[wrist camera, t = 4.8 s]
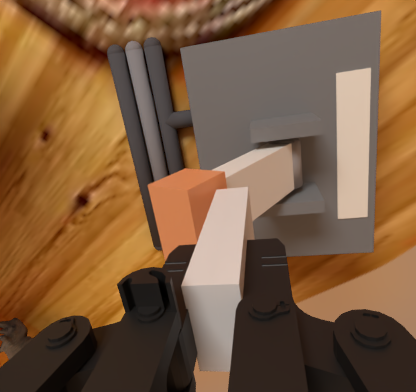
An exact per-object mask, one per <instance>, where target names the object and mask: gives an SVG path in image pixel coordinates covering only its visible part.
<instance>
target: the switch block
mask: <svg viewBox="0 0 416 392" xmlns="http://www.w3.org/2000/svg"><path fill="white" fill-rule="evenodd" d="M380 32H381V11H375V12H370V13H365V14H359V15H354V16H349V17H344V18H338V19H333V20H328V21H322V22H317V23H312V24H306V25H301V26H296V27H290V28H285V29H280V30H274V31H269V32H264V33H258V34H253V35H248V36H242V37H237V38H232V39H226V40H221V41H216V42H211V43H205V44H200V45H195V46H189V47H184V48H180V50H181V56H182V62H183V68H184V74H185V80H186V86H187V92H188V98H189V104H190V110H191V116H192V122H193V128H194V134H195V140H196V146H197V152H198V158H199V164H200V170H213V169H215V168H217V167H219V166H221V165H223V164H225V163H227V162H229V161H231V160H234V159H236V158H238V157H240V156H242V155H244V154H246V153H248V152H250V151H252V150H254V149H256V148H259V147H261V146H263V145H265V144H267V143H268V142H269V141H274V140H282V139H290V138H300V142H301V161H302V180H303V185H302V186H301V187H299V188H297V189H294V190H293V191H291V192H290V193H289V194H287V195H286V196H285V197H283V198H282V199H281V200H280V201H278V202H277V203H276V204H274V205H273V206H272V207H270V208H269V209H268V210H267V211H265V212H264V213H263V214H261V215H260V216H259V217H257V218H256V219H255V220H254V221H252V222H253V230H254V239H271V238H278V239H279V240H280V241H281V242H282V243H283V244H284V245H285V250H286V257H291V256H310V255H329V254H348V253H367V252H373V249H374V218H375V187H376V156H377V125H378V94H379V63H380Z"/></svg>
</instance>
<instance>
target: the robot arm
mask: <svg viewBox="0 0 416 392" xmlns="http://www.w3.org/2000/svg"><path fill="white" fill-rule="evenodd" d="M117 286H118V289H119V293H120V296H121V299H122V302H123V306H124V309H125V312H126V313H125V314H124V316H123V318H122V320H121V321H120V322H117V323H114V324H110V325H106V326H102V327H98V328H94V329H92V327H91V324H90V322H89V319H87V318H85V317H83V316H70V317H66V318H62V319H60V320H58V321H56V322H54V323H52V324H50V325H49V326H48V327H46V328H45V329H44V330H42V331H41V332H40V333H39V334H38V335H37V336H35V337H34V338H33V339H32V340H31V341H30V342H29V343H28V344H26V345H25V346H24V347H23V348H22V349H21V350H20V351H19V352H17V353H16V354H15V355H14V356H13V357H12V358H11V359H10V360H8V361H7V362H6V363H5V364H4V365H3V366H2V367H1V368H0V392H196V382H195V378H194V373H193V371H194V367H195V362H196V358H197V360H198V365H199V369H200V371H227V372H228V371H229V372H230V376H229V387H228V392H416V339H415V338H414V337H413V336H412V335H411V334H410V333H409V332H408V331H407V330H406V329H405V328H404V327H403V326H402V325H401V324H400V323H398V322H397V321H396V320H394V319H393V318H391V317H389V316H387V315H385V314H382V313H380V312H376V311H371V310H366V309H363V310H351V311H348V312H345V313H343V314H341V315H340V316H339V317H338V318H337V319H336V320H335V323H334V322H330V321H325V320H321V319H318V318H315V317H312V316H310V315H308V314H306V313H304V312H303V311H302V310H301V309H299V308H298V307H297V305H296V304H295V303H294V300H293V297H292V291H291V285H290V278H289V271H288V264H287V257H286V250H285V245H284V244H283V243H282V242H281V241H280V240H279V239H278V238H271V239H254V230H253V222H252V213H251V205H250V196H249V188H248V187H239V188H229V189H218V190H216V192H215V195H214V198H213V200H212V203H211V206H210V209H209V211H208V214H207V217H206V220H205V222H204V225H203V228H202V230H201V233H200V236H199V239H198V241H197V244H191V245H179V246H177V247H176V248H175V249H174V250H173V251H172V252H171V253H169V255H168V257H167V259H166V261H165V264H164V265H163V267H162V268H155V267H151V268H144V269H140V270H138V271H135V272H132V273H131V274H129V275H127V276H126V277H124V278H123V279H122V280H121V281H120V282H119V283H118V284H117Z"/></svg>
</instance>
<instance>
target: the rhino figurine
mask: <svg viewBox="0 0 416 392" xmlns="http://www.w3.org/2000/svg"><path fill="white" fill-rule="evenodd" d="M0 327H1V328H4V329H2V330H0V333H1V334H4V335H2V336H0V340H1V341H3V342H2V345H1V347H0V352H3V351H4V352H5V353H6V354H7V356H8V358H9V360H10V359H11V358H12V357H13V356H14V355H15V354H16V353H17V352H19V351H20V350H21V349H22V348H23V347H24V346H25V345H26V344H28V343H29V342H30V341H31V340H32V339H33V338H31V337H27V332H28V330H27V328H26V327H25V325H24V324H23V323H22V322H21V321H20V320H19V319H18V318H13V319H12V320H10V321H2V322H0Z"/></svg>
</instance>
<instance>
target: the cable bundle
mask: <svg viewBox="0 0 416 392" xmlns="http://www.w3.org/2000/svg"><path fill="white" fill-rule="evenodd" d="M125 51H126V56H127V61H128V65H129V70H130V74H131V78H132V83H133V87H134V92H135V96H136V101H137V105H138V110H139V114H140V119H141V123H142V128H143V132H144V137H145V141H146V146H147V150H148V155H149V159H150V164H151V168H152V172H153V177H154V181H158V180H160V179H162V178H164V177H167V176H169V175H168V170H167V166H166V161H165V156H164V151H163V146H162V141H161V136H160V132H159V127H158V122H157V117H156V112H155V107H154V102H153V98H152V93H151V88H150V83H149V78H148V73H147V68H146V64H145V59H144V54H143V49H142V46H141V45H140V44H139V43H138V42H136V41H131V42H129V43H128V44H127V45H126V48H125ZM144 51H145V56H146V61H147V66H148V71H149V76H150V81H151V86H152V90H153V95H154V100H155V105H156V110H157V115H158V120H159V125H160V130H161V134H162V139H163V144H164V149H165V154H166V159H167V164H168V169H169V174H170V175H171V174H174V173H176V172H178V171H181V170H183V169H184V166H183V161H182V155H181V150H180V145H179V139H178V134H177V128H184V127H192V126H193V122H192V116H191V110H186V111H179V112H173V107H172V102H171V97H170V91H169V86H168V80H167V75H166V70H165V64H164V59H163V54H162V48H161V44H160V42H159V41H158V40H157V39H156V38H153V37H151V38H148V39H147V40H146V41H145V42H144ZM107 55H108V59H109V63H110V67H111V71H112V75H113V80H114V84H115V88H116V92H117V96H118V100H119V104H120V108H121V113H122V117H123V121H124V125H125V129H126V133H127V137H128V141H129V146H130V150H131V154H132V158H133V162H134V166H135V170H136V174H137V179H138V183H139V187H140V191H141V195H142V199H143V203H144V208H145V212H146V216H147V220H148V224H149V228H150V232H151V236H152V241H153V245H154V247H155V249H157V250H160V251H161V250H163V249H162V245H161V241H160V236H159V232H158V228H157V223H156V219H155V215H154V211H153V206H152V202H151V198H150V193H149V189H148V184H151V183H153V182H154V181H153V177H152V173H151V168H150V164H149V159H148V155H147V150H146V146H145V141H144V137H143V132H142V128H141V124H140V119H139V115H138V110H137V106H136V101H135V97H134V92H133V88H132V83H131V79H130V75H129V70H128V66H127V61H126V57H125V52H124V50H123V49H122V47H120V46H119V45H112V46H110V47H109V48H108V51H107Z"/></svg>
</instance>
